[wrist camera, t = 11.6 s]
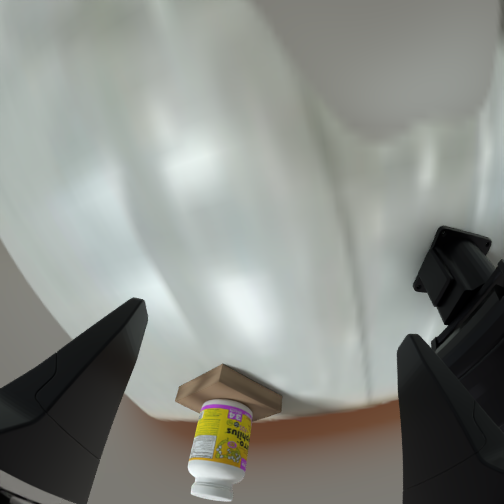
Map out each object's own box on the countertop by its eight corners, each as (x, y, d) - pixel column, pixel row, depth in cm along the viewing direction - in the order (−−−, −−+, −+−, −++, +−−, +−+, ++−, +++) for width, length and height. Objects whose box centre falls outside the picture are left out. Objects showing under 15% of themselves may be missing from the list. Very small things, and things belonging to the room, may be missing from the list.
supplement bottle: (262, 416, 34) (251, 504, 24) (220, 419, 37) (204, 500, 26) (236, 393, 31) (220, 495, 21) (192, 398, 34) (169, 488, 23)
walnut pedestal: (222, 363, 32) (218, 381, 30) (282, 396, 35) (281, 412, 33) (179, 386, 37) (175, 401, 35) (234, 413, 40) (231, 427, 38)
